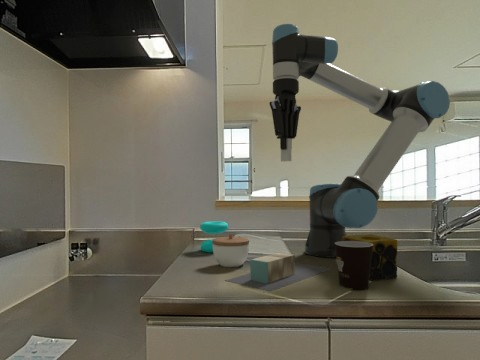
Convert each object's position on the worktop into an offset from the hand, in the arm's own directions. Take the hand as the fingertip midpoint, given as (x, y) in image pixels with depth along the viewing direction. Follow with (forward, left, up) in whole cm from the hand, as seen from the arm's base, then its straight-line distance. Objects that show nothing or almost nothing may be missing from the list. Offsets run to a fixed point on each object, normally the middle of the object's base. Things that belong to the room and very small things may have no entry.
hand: (286, 161), depth 113 cm
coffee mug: (+7, +24, -31) cm, 40 cm away
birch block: (+9, +6, -28) cm, 29 cm away
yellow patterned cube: (-4, +23, -31) cm, 39 cm away
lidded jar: (+11, -12, -31) cm, 35 cm away
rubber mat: (+11, +6, -30) cm, 33 cm away
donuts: (-3, -33, -31) cm, 45 cm away
